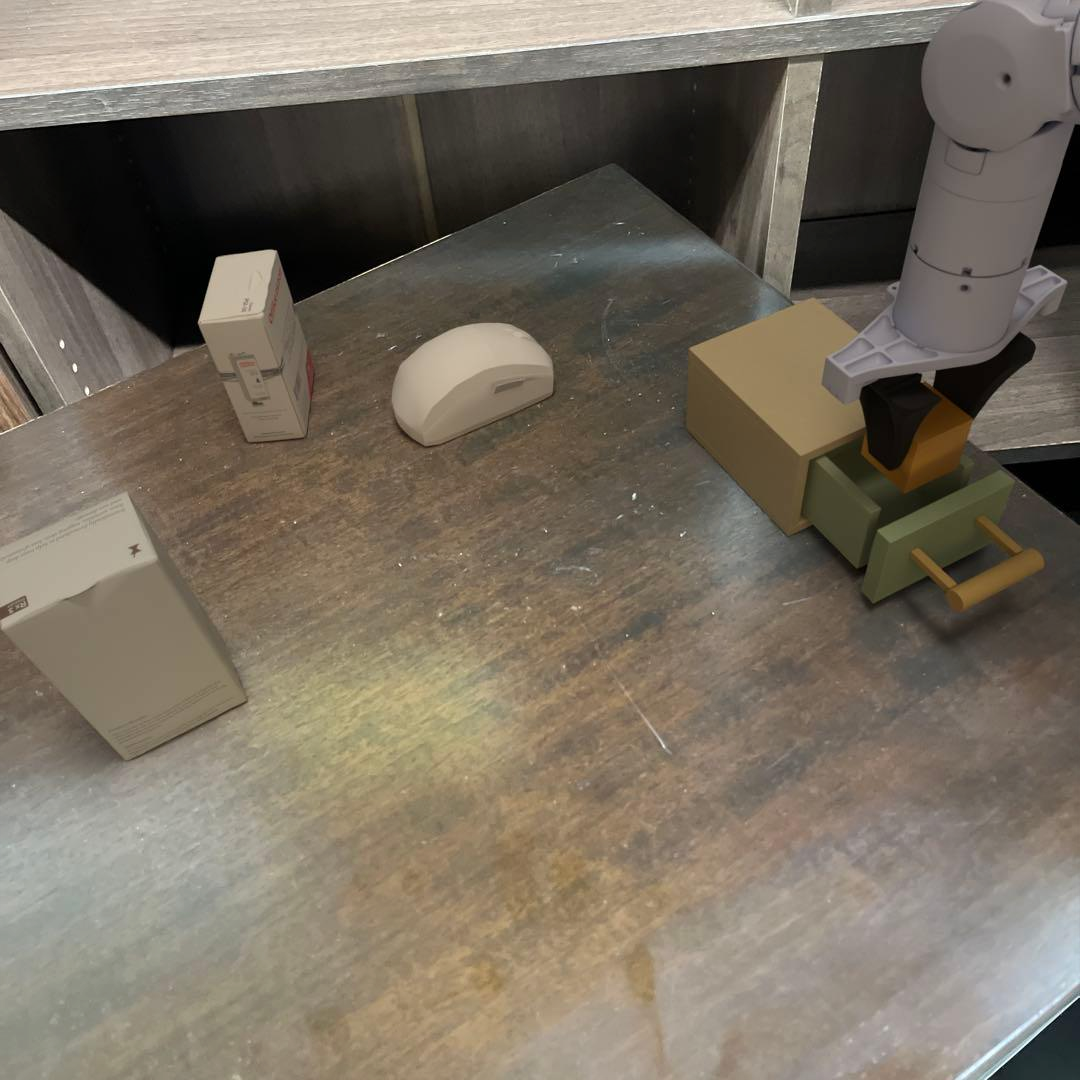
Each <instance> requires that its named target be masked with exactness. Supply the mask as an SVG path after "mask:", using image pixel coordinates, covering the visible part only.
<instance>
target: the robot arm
mask: <svg viewBox="0 0 1080 1080" xmlns="http://www.w3.org/2000/svg"><path fill="white" fill-rule="evenodd" d="M921 64H922V65H921V72H920V73H921V76H920V82H921V91H922V96H923V100H924V103H925V106H926V109H927V111H928V113H929V115H930V117H931V119H932V120H933V122H934V128H933V132H932V137H931V141H930V146H929V150H928V154H927V159H926V164H925V168H924V173H923V177H922V181H921V185H920V190H919V193H918V199H917V202H916V203H917V204H916V208H915V211H914V212H915V214H914V217H913V221H912V226H911V230H910V234H909V235H910V236H909V240H908V243H907V249H906V253H905V258H904V261H903V267H902V271H901V276H900V280H898V281H896V282H894V283H891V284H889V285H888V286H887V287H886V290H885V297H884V299H885V301H886V302H888V303H889V305H888V306H887V307H886V308H885V309H884V310H882V312H880V313H879V314H878V315H877V316H876V317H875V318H874V319H872V321H871V322H870V323H869V324H868V325H866V327H864V328H863V330H861V331H860V332H858V333H859V334H858V335H857V336H856V337H855V338H854V339H853V340H852V341H851V342H849V343H848V344H847V345H846V346H845V347H843V348H842V349H840V350H838V351H836V352H834V353H832V354H830V355H828V356H826V359H825V365H824V371H823V377H822V383H821V385H822V386H823V387H825V388H826V389H827V390H828V391H829V392H830V393H831V394H832V395H833V396H834V397H835V398H837V399H838V400H839V401H841V402H842V403H843V404H844V405H847V404H849V403H851V402H853V401H855V400H858V399H859V400H860V403H861V406H862V410H863V415H864V419H865V426H866V433H867V443H868V453H869V454H870V455H871V456H873V457H874V458H875V459H876V460H877V461H878V462H879V463H880V464H881V465H883V466H884V467H885V468H886V469H887V470H888V471H893V470H895V469H897V468H899V466H900V465H901V464H902V462H903V461H904V459H905V457H906V455H907V453H908V451H909V449H910V446H911V443H912V441H913V438H914V436H915V433H916V431H917V429H918V428H919V426H920V424H921V423H922V421H923V420H924V418H925V417H926V415H927V414H928V413H929V412H930V411H931V410H932V409H933V408H934V407H935V406H936V405H937V404H938V403H939V402H940V401H942V400H943V399H942V398H940V397H939V396H938V395H937V394H935V393H934V392H933V391H931V390H930V389H929V388H928V387H926V386H925V385H924V384H923V383H922V379H923V374H922V373H926V372H932V371H935V373H934V378H933V384H932V387H934V388H935V389H936V390H937V391H939V392H940V393H941V394H942V395H944V396H945V397H946V398H947V399H949V400H950V401H951V402H953V403H954V404H955V405H956V406H958V407H959V408H960V409H961V410H963V411H964V412H965V413H966V414H968V415H969V416H970V417H972V418H973V421H975V420H976V418H977V416H978V415H979V414H980V412H981V411H982V409H983V408H984V407H985V405H987V403H988V401H990V399H991V397H993V395H994V394H995V393H996V392H997V391H998V390H999V389H1000V388H1001V387H1002V386H1003V384H1004V383H1005V382H1006V381H1008V379H1009V378H1011V377H1012V376H1013V375H1014V374H1015V373H1017V372H1018V371H1020V370H1021V369H1022V368H1023V367H1024V366H1026V365H1027V364H1028V363H1030V362H1031V361H1033V358H1034V356H1035V353H1036V350H1037V345H1036V343H1035V342H1034V340H1033V339H1032V338H1031V337H1029V336H1027V335H1026V334H1024V332H1021V331H1022V329H1023V328H1024V327H1026V325H1027V324H1028V323H1029V322H1030V321H1031V320H1032V318H1033V317H1035V315H1036V314H1037V315H1039V316H1041V317H1046V316H1049V315H1050V314H1053V313H1055V312H1057V311H1058V309H1059V307H1060V305H1061V302H1062V298H1063V296H1064V293H1065V291H1066V288H1067V285H1068V281H1067V280H1066V279H1065V278H1062V277H1061V276H1059V275H1058V274H1056V273H1055V272H1053V271H1052V270H1050V269H1048V268H1046V267H1045V266H1043V265H1041V264H1039V265H1036V266H1034V267H1030V268H1029V266H1030V263H1031V259H1032V257H1033V253H1034V249H1035V247H1036V244H1037V241H1038V237H1039V235H1040V232H1041V229H1042V227H1043V223H1044V221H1045V217H1046V214H1047V212H1048V208H1049V205H1050V202H1051V199H1052V196H1053V193H1054V190H1055V188H1056V184H1057V182H1058V179H1059V175H1060V172H1061V168H1062V166H1063V161H1064V159H1065V155H1066V151H1067V149H1068V146H1069V143H1070V140H1071V137H1072V134H1073V131H1074V128H1075V125H1080V0H975V1H974V2H972V3H971V4H969V5H967V6H965V7H963V8H962V9H960V10H959V11H958V12H956V13H955V14H954V15H953V16H951V17H950V18H949V19H947V20H946V21H945V22H944V23H943V24H942V25H941V26H940V27H939V28H938V29H937V30H936V32H935V33H934V34H933V36H932V37H931V39H930V41H929V43H928V45H927V47H926V49H925V53H924V56H923V59H922V63H921Z"/></svg>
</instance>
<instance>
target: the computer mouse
mask: <svg viewBox="0 0 1080 1080" xmlns="http://www.w3.org/2000/svg"><path fill="white" fill-rule="evenodd" d="M554 377H555V375H554V364H553V360H552V357H551V356H550V355H549V353H548V352H547V351H546V350H545V349H544V348H543V347H542V345H540V344H539V343H538V341H537V340H536V339H535V338H534V337H533V336H532V335H530V333H528V332H527V331H525V330H523V329H521V328H519V327H516V326H514V325H512V324H510V323H503V322H480V323H471V324H466V325H462V326H461V325H460V326H457V327H455V328H452V329H449V330H447V331H445V332H443V333H441V334H439V335H437V336H436V337H433V338H432V339H430V340H428V341H426V342H424V343H423V344H422V345H420V346H419V347H418V348H417V349H415V351H414V352H412V353H411V354H410V355H409V356H408V357H406V358H405V359H404V360H403V361H402V362H401V363H400V364H399V367H398V370H397V372H396V374H395V377H394V381H393V384H392V390H391V398H390V399H391V400H390V401H391V406H392V409H393V412H394V417H395V420H396V423H397V424H398V426H399V427H400V429H401V430H402V431H403V432H404V433H405V434H407V435H408V436H409V437H410V438H411V439H412V440H414V441H416V442H418V443H419V444H421V445H423V446H424V447H430V446H437V445H442V444H444V443H446V442H449V441H451V440H453V439H456V438H458V437H460V436H463V435H465V434H468V433H470V432H473V431H475V430H478V429H481V428H483V427H484V426H487V425H489V424H491V423H494V422H497V421H498V420H501V419H503V418H506V417H508V416H510V415H513V414H515V413H518V412H520V411H522V410H524V409H526V408H529V407H530V406H533V405H535V404H537V403H539V402H541V401H544V400H545V399H547V398H549V397H551V396H553V393H554Z"/></svg>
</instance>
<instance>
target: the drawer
mask: <svg viewBox="0 0 1080 1080" xmlns="http://www.w3.org/2000/svg"><path fill="white" fill-rule="evenodd" d="M864 437H865V435H863V436H861V437H859V438H857V439H855V440H853V441H850V442H848V443H846V444H844V445H842V446H839V447H837V448H835V449H833V450H831V451H829V452H826V453H824V454H822V455H820V456H818V457H815V458H813V459H811V460H809V466H808V472H807V478H806V484H805V489H804V495H803V501H802V507H801V512H802V513H803V514H804V515H805V517H806V518H807V519H808V520H809V521H810V522H811V523H812V524H813V525H812V526H815V528H816V529H817V530H818V531H819V532H820V533H821V534H822V535H823V536H824V537H825V538H826V539H827V540H828V541H829V542H830V543H831V544H832V545H833V546H834V547H835V548H836V549H837V550H838V551H839V553H840V554H842V555H843V557H844V558H846V560H848V562H850V564H852V566H853V567H854V568H855V569H859V568H862V567H864V566H866V565H867V567H866V570H865V574H864V578H863V583H862V586H861V589H860V591H861V592H862V593H863V594H864V596H866V597H867V598H868V600H869V601H871V603H873V604H875V603H877V602H879V601H880V600H883V599H885V598H887V597H888V596H891V595H893V594H895V593H897V592H898V591H901V590H902V589H904V588H907V587H908V586H910V585H912V584H914V583H916V582H918V581H920V580H923V579H925V578H926V577H929V578H930V579H931V580H932V581H933V582H934V583H935V584H937V586H939V588H941V589H942V591H944V592H945V600H946V602H947V605H949V607H950V608H951V609H952V610H953V611H954V612H957V613H962V612H964V611H966V610H968V609H970V608H972V607H974V606H975V605H977V604H979V603H981V602H983V601H985V600H987V599H988V598H990V597H992V596H995V595H997V594H998V593H1000V592H1002V591H1003V590H1005V589H1008V588H1010V587H1011V586H1014V585H1015V584H1017V583H1019V582H1021V581H1023V580H1025V579H1026V578H1028V577H1030V576H1033V575H1034V574H1036V573H1038V572H1040V571H1042V570H1043V569H1044V567H1045V561H1044V557H1043V556H1042V554H1041V553H1040V552H1039V551H1038V550H1036V549H1035V548H1027V549H1025V550H1024V548H1023V547H1022V546H1020V545H1019V543H1017V542H1016V541H1015V540H1014V539H1013V538H1011V537H1010V536H1009V535H1008V534H1006V532H1004V531H1003V530H1002V529H1001V528H1000V527H999V526H998V525H999V523H1000V522H1001V521H1000V520H1001V518H1002V516H1003V513H1004V510H1005V508H1006V505H1007V504H1008V501H1009V498H1010V496H1011V494H1012V490H1013V488H1014V485H1015V483H1016V480H1014V479H1013V478H1012V477H1011V476H1010V475H1009V474H1008V473H1006V472H1005V471H1004V470H1002V469H999V470H997V471H995V472H993V473H990V474H989V475H987V476H984V477H983V478H980V479H978V480H976V481H975V482H972V483H970V484H969V482H970V478H971V476H972V472H973V471H974V470H973V469H974V467H975V464H976V463H975V462H974V460H972V459H971V458H970V457H969V456H967V455H966V454H965V453H962V456H961V459H960V462H959V465H958V468H957V469H955V470H953V471H951V472H949V473H947V474H944V475H942V476H940V477H938V478H936V479H934V480H932V481H930V482H928V483H926V484H924V485H922V486H920V487H917V488H915V489H913V490H911V491H909V492H907V493H903V492H902V491H901V490H900V489H899V488H898V487H897V486H896V485H895V484H893V483H892V482H891V481H890V480H889V479H888V478H887V477H886V476H885V475H884V474H882V473H881V472H880V471H879V470H878V469H877V468H876V467H875V466H874V465H873V464H871V463H870V462H869V461H868V460H867V459H866V458H865V457H864V456H863V455H862V454H861V450H862V446H863V441H864ZM992 542H994V543H995V544H996V545H997V546H998V547H999V548H1000V549H1001V550H1002V551H1004V552H1005V553H1006V554H1007V555H1008V556H1009V557H1010V558H1007V559H1005V560H1003V561H1002V562H1000V563H997V564H996V565H994V566H991V567H989V568H988V569H986V570H984V571H982V572H980V573H979V574H976V575H975V576H973V577H971V578H969V579H967V580H965V581H963V582H961V583H959V584H958V583H957V582H956V581H955V580H954V579H953V578H952V577H950V576H949V575H948V574H947V573H946V572H945V571H944V570H943V569H944V568H946V567H947V566H950V565H951V564H953V563H955V562H957V561H959V560H961V559H963V558H965V557H967V556H969V555H971V554H973V553H975V552H977V551H979V550H982V549H983V548H985V547H987V546H989V545H990V544H991V543H992Z"/></svg>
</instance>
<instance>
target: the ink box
mask: <svg viewBox="0 0 1080 1080" xmlns="http://www.w3.org/2000/svg"><path fill="white" fill-rule="evenodd" d="M201 307H202V308H201V311H200V315H199V317H198V321H197V325H198V327H199V330H200V332H201V334H202V337H203V339H204V342H205V344H206V347H207V349H208V351H209V354H210V356H211V359H212V361H213V364H214V365H215V368H216V370H217V372H218V375H219V377H220V379H221V382H222V384H223V386H224V389H225V391H226V394H227V396H228V398H229V401H230V403H231V405H232V408H233V411H234V413H235V415H236V417H237V420H238V422H239V425H240V428H241V430H242V432H243V434H244V437H245V439H246V442H248V443H258V442H272V441H283V440H284V441H285V440H292V439H301V438H302V439H303V438H305V437H306V436H307V432H308V425H309V417H310V411H311V410H310V408H311V400H312V393H313V385H314V378H315V366H314V363H313V360H312V357H311V353H310V351H309V348H308V344H307V341H306V338H305V334H304V332H303V329H302V326H301V322H300V320H299V316H298V313H297V310H296V307H295V304H294V300H293V298H292V294H291V291H290V287H289V285H288V282H287V278H286V276H285V272H284V269H283V266H282V263H281V260H280V256H279V253H278V251H277V250H276V249H275V250H274V249H264V250H257V251H249V252H244V253H243V252H242V253H233V254H227V255H220V256H217V257H216V258H215V261H214V265H213V268H212V272H211V275H210V278H209V281H208V286H207V289H206V293H205V297H204V300H203V304H202V306H201Z"/></svg>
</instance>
